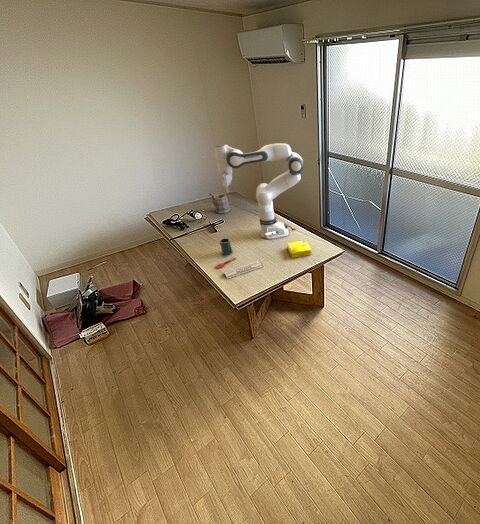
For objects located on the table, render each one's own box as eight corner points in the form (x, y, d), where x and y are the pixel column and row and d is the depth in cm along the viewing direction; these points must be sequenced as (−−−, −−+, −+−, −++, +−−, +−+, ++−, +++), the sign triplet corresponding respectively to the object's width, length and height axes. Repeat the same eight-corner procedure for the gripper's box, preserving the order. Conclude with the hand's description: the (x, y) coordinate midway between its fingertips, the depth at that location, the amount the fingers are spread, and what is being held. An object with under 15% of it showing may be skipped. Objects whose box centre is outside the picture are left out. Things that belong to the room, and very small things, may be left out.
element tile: (286, 248, 208) (286, 242, 205) (306, 244, 212) (305, 239, 209) (291, 258, 196) (290, 252, 193) (312, 254, 201) (311, 248, 198)
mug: (220, 253, 202) (217, 240, 196) (228, 249, 206) (225, 237, 201) (228, 257, 197) (225, 245, 191) (236, 253, 201) (234, 241, 196)
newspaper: (258, 262, 193) (258, 259, 192) (262, 266, 188) (262, 264, 187) (224, 273, 182) (223, 271, 180) (227, 279, 177) (226, 276, 176)
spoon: (234, 257, 197) (233, 256, 196) (237, 259, 195) (237, 258, 194) (215, 267, 187) (214, 265, 187) (218, 269, 185) (218, 268, 185)
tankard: (233, 209, 265) (229, 194, 256) (222, 214, 256) (218, 198, 247) (219, 205, 273) (215, 190, 265) (208, 209, 265) (204, 194, 256)
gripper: (227, 173, 184) (231, 194, 191) (232, 166, 201) (235, 185, 208) (217, 173, 183) (221, 194, 190) (223, 166, 200) (226, 185, 207)
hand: (228, 189), depth 199 cm, fingers open, 8 cm apart
